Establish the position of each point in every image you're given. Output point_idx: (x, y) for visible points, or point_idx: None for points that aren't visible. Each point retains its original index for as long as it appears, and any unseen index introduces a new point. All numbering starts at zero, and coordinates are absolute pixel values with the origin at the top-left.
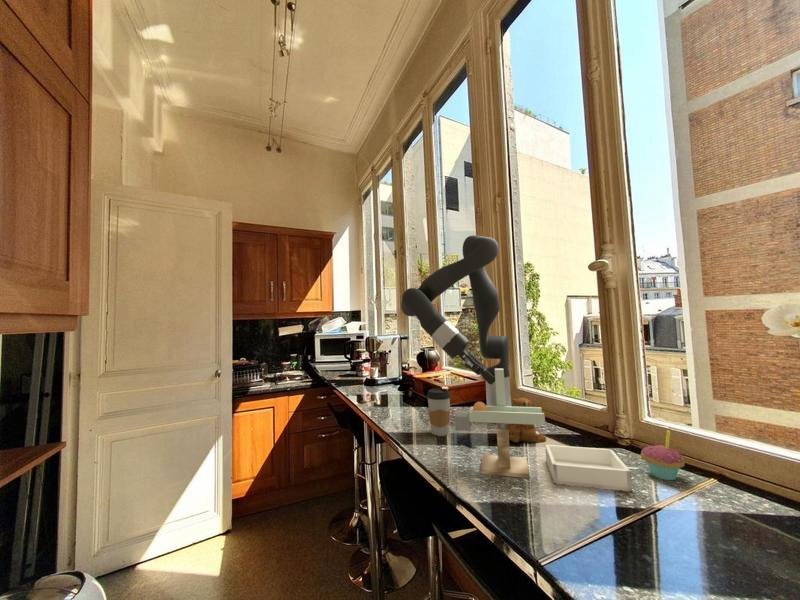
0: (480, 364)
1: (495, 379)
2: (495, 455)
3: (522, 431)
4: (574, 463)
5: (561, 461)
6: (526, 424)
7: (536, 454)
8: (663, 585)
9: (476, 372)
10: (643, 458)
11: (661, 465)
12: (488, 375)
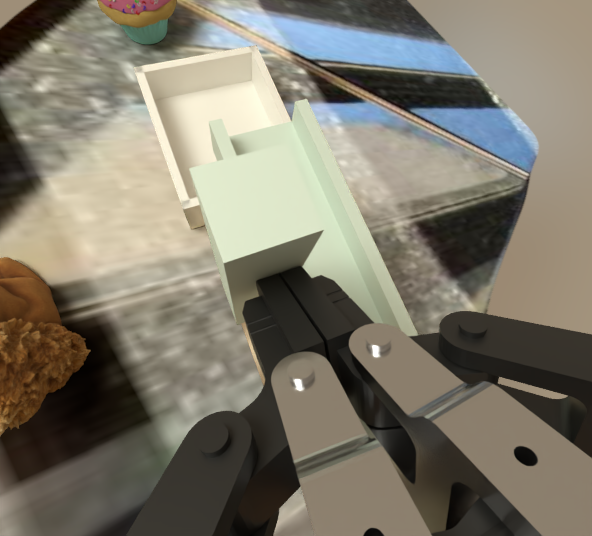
0: (474, 385)
1: (302, 262)
2: (252, 350)
3: (43, 317)
4: (189, 164)
5: (193, 190)
6: (9, 300)
7: (155, 260)
8: (465, 71)
9: (513, 390)
10: (152, 22)
11: (176, 1)
12: (354, 305)
